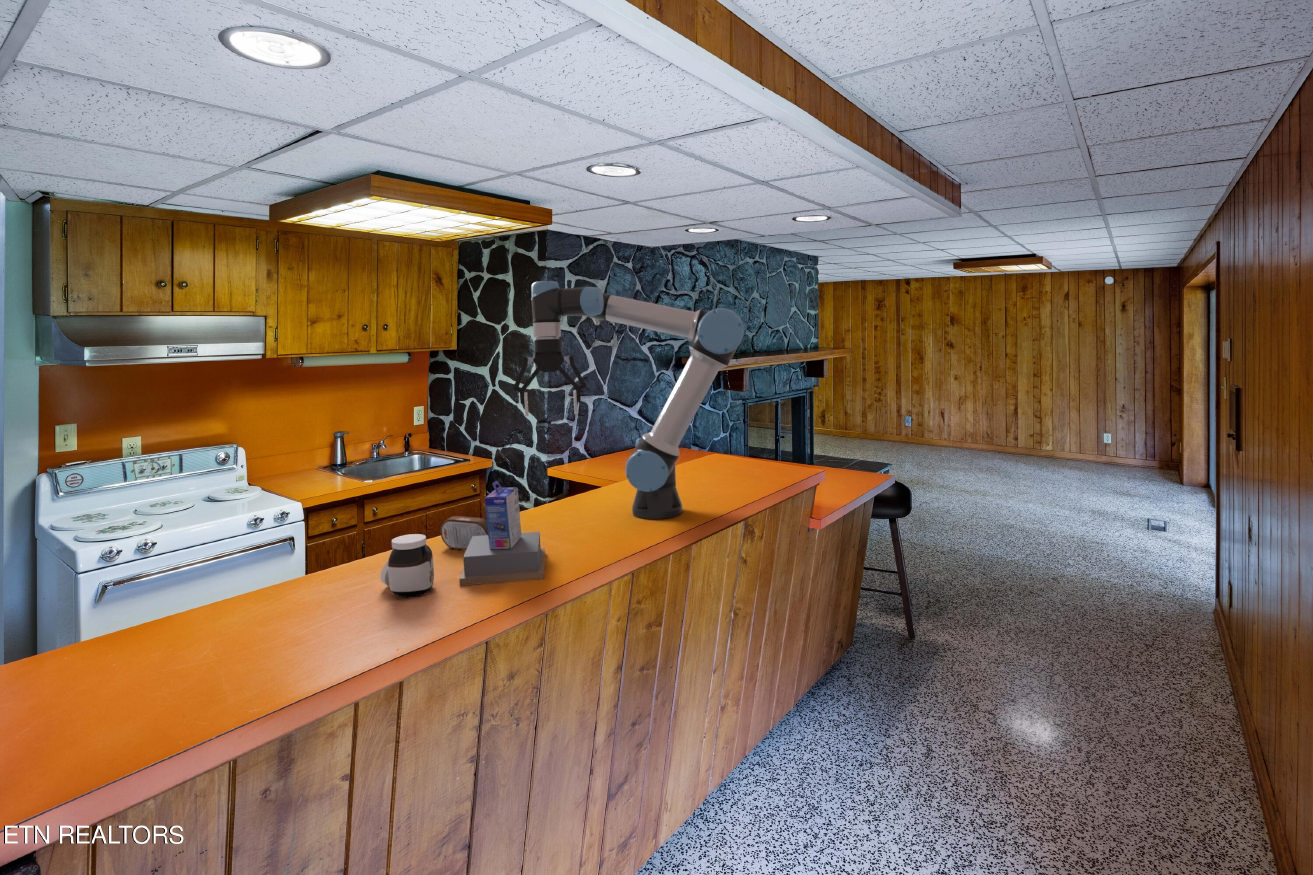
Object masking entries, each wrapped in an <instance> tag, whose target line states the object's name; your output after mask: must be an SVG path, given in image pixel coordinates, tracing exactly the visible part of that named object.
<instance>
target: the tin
mask: <svg viewBox="0 0 1313 875" xmlns="http://www.w3.org/2000/svg"><path fill="white" fill-rule="evenodd" d="M439 532H440V536H441V540H442V542H443V543H444V545H446V546H447V547H448V548H450V549H452V548H453V550H459V549H463V550H462V551H466V550H467V547H468V545H469V543H470V541H471V538H472V536H484V535H488V528H487V519H484V518H482V517H475V516H474V517H472V516H463V515H461V516H460V515H453V516H450V517H449V518H447V519H446V520H444V521H443V522H442V523H441V525H440V530H439Z"/></svg>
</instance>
